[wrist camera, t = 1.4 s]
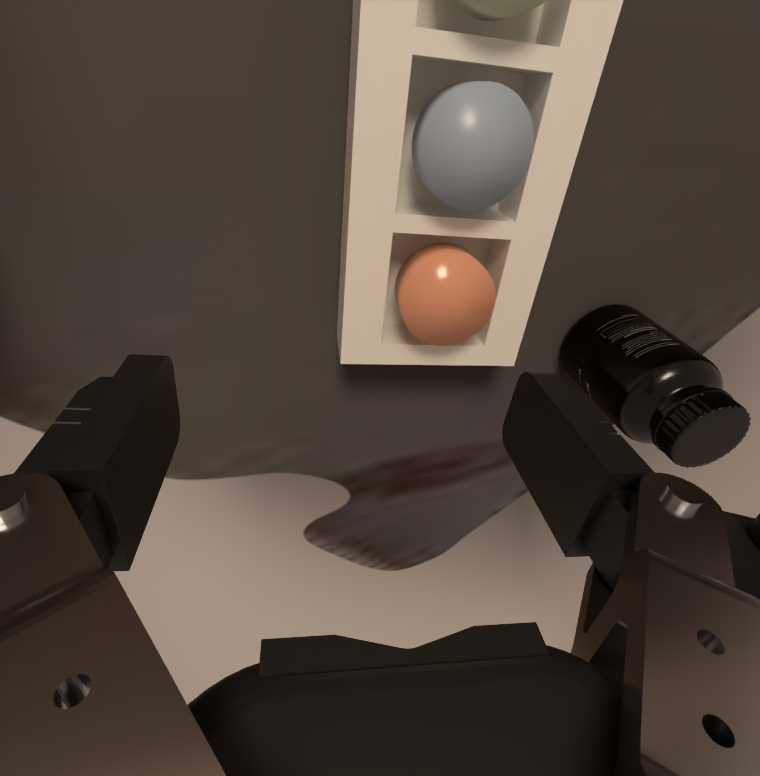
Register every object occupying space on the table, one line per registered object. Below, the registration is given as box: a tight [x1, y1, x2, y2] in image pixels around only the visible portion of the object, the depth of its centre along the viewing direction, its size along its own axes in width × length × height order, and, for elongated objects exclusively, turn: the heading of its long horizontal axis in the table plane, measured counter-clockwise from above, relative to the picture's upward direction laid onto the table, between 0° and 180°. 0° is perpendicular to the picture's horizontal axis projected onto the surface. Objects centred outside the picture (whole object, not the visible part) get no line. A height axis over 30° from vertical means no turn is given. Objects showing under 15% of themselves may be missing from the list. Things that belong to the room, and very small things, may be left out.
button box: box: [337, 0, 623, 366], centre depth 25 cm, size 26×12×4 cm, turn 175°
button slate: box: [411, 81, 534, 211], centre depth 23 cm, size 6×6×3 cm
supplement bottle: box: [562, 304, 751, 467], centre depth 31 cm, size 7×7×12 cm
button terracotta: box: [394, 243, 495, 346], centre depth 27 cm, size 6×6×3 cm
